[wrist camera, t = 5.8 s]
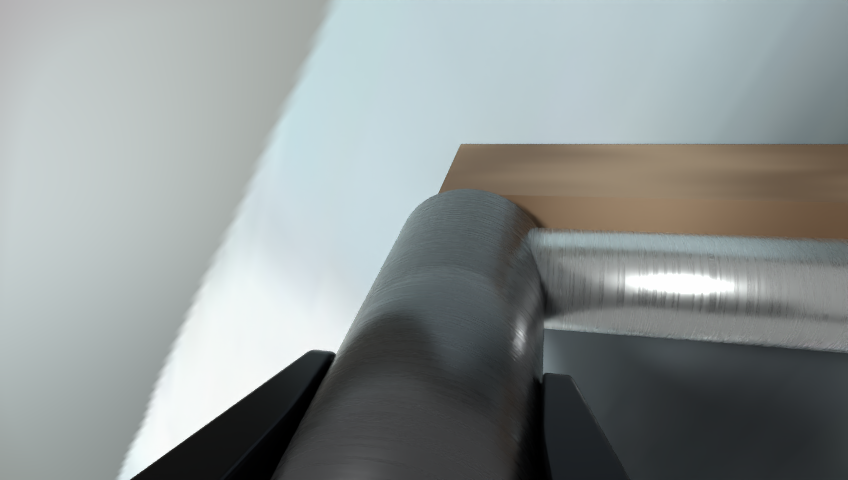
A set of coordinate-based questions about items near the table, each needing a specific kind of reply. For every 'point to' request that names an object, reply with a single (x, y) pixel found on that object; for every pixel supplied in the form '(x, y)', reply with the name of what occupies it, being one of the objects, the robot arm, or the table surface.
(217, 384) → the table surface
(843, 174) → the wooden mallet
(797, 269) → the door handle
